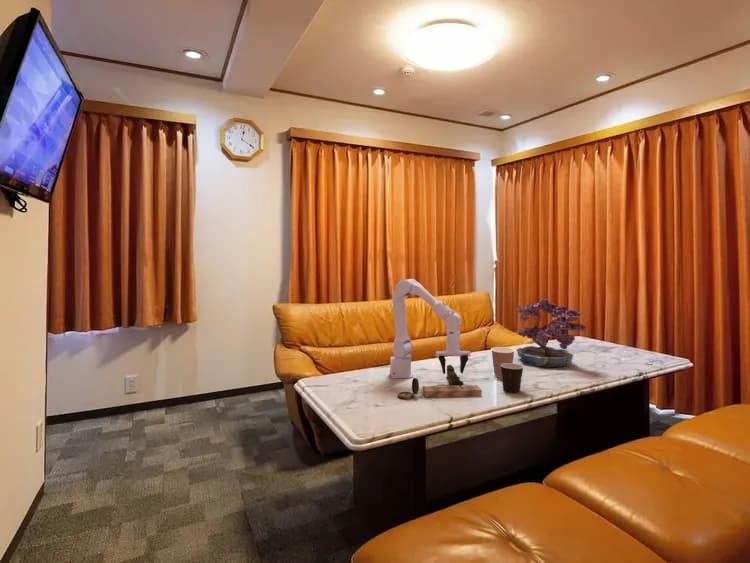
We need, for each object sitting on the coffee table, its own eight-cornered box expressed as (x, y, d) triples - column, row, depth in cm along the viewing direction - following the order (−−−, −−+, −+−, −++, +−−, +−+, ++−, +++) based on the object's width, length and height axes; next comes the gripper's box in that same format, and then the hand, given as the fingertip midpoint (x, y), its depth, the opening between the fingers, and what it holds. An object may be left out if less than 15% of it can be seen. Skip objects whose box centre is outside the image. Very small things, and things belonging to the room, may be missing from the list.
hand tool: (463, 392, 165) (463, 378, 164) (451, 392, 165) (451, 378, 165) (455, 375, 187) (456, 363, 187) (445, 375, 188) (445, 363, 187)
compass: (395, 395, 161) (395, 376, 161) (414, 393, 163) (414, 375, 162) (401, 402, 153) (401, 383, 153) (421, 400, 155) (421, 381, 154)
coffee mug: (507, 385, 172) (507, 362, 171) (526, 390, 166) (527, 366, 165) (491, 391, 164) (492, 367, 164) (511, 397, 158) (511, 371, 157)
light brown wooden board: (425, 397, 158) (425, 390, 158) (422, 392, 164) (422, 385, 164) (481, 396, 159) (481, 389, 159) (476, 391, 165) (476, 384, 165)
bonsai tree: (504, 357, 219) (505, 296, 217) (547, 353, 226) (548, 295, 224) (548, 376, 185) (550, 304, 183) (597, 371, 193) (599, 302, 190)
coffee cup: (491, 371, 193) (491, 346, 192) (514, 373, 189) (515, 347, 188) (489, 377, 183) (490, 351, 182) (514, 380, 180) (514, 352, 179)
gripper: (438, 343, 170) (437, 376, 171) (472, 343, 171) (472, 375, 172) (434, 340, 177) (434, 371, 178) (468, 339, 178) (467, 370, 179)
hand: (452, 373), depth 176 cm, fingers open, 7 cm apart
